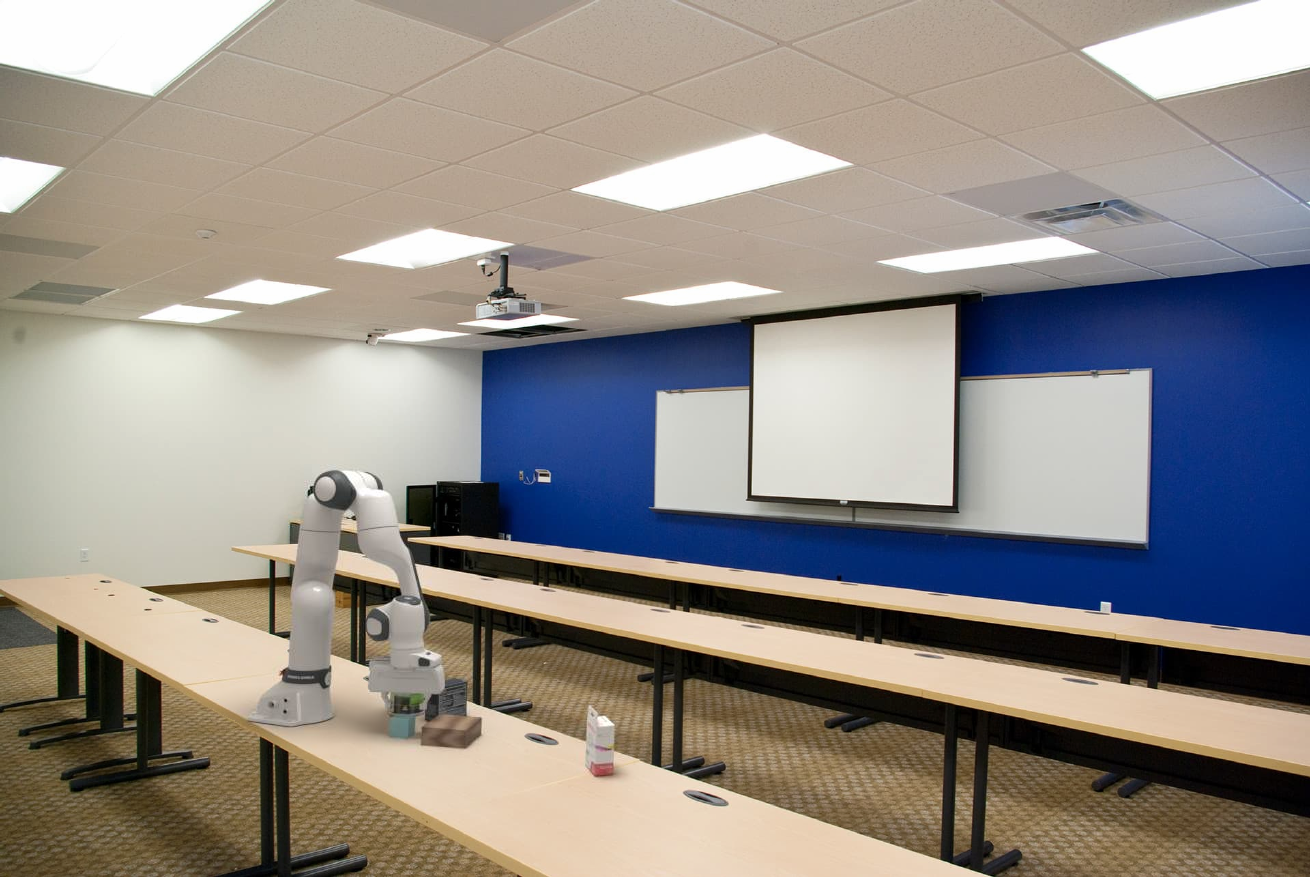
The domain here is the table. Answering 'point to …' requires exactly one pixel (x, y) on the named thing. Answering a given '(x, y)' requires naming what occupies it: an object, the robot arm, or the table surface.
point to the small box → (448, 700)
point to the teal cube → (402, 726)
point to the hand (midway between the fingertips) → (405, 709)
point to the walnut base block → (451, 731)
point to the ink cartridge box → (599, 744)
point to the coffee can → (406, 703)
